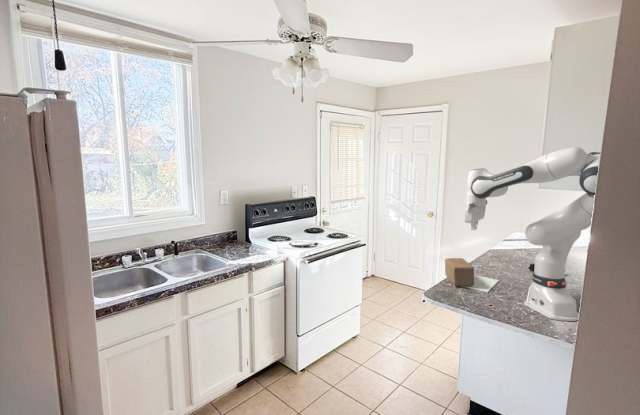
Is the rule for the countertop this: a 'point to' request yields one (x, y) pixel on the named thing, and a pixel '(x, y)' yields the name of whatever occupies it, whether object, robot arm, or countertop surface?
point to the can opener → (532, 267)
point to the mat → (482, 283)
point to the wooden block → (459, 272)
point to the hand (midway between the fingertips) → (473, 229)
